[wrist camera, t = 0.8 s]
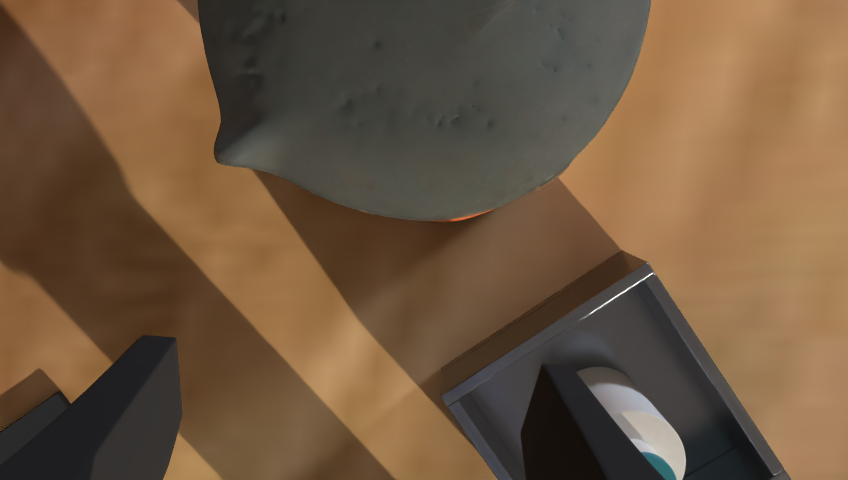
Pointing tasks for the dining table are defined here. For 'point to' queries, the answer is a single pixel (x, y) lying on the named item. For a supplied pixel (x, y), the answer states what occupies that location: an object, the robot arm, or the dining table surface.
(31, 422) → the mat
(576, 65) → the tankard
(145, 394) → the robot arm
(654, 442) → the bottle
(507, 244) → the dining table surface
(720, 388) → the dark grey tray
